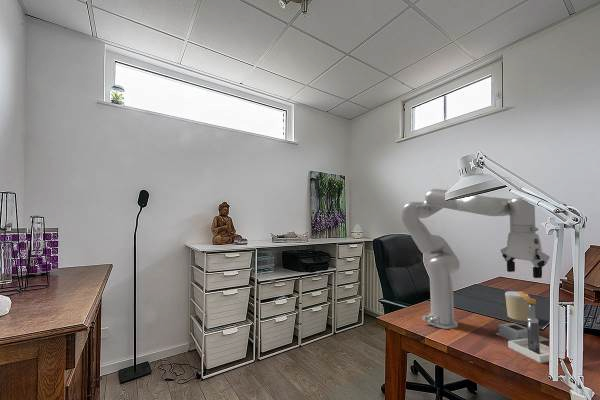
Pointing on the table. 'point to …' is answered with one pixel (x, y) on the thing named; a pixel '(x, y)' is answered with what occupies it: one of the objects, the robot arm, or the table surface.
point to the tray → (522, 348)
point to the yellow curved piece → (527, 298)
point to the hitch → (517, 328)
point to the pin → (533, 335)
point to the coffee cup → (516, 306)
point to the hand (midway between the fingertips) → (523, 274)
